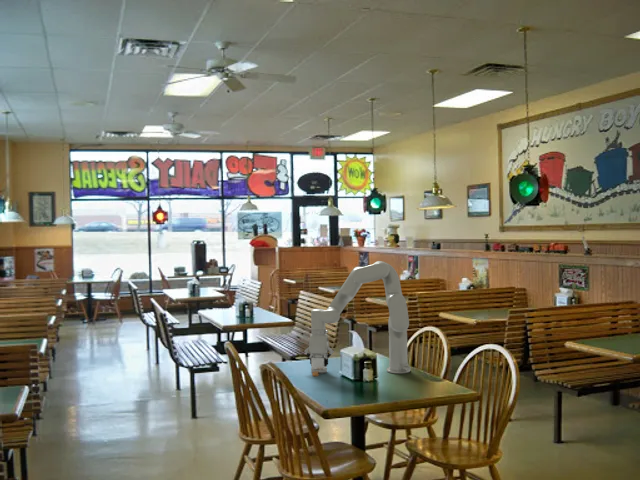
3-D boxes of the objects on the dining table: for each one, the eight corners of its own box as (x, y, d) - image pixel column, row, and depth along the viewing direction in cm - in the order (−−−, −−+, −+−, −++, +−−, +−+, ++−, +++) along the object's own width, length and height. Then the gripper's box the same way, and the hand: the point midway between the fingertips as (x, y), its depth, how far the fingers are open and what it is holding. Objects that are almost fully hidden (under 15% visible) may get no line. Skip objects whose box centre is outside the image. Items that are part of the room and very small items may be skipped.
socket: (324, 369, 328) (323, 356, 328) (311, 369, 330) (311, 355, 330) (326, 366, 335) (326, 353, 335) (314, 366, 337) (314, 353, 336)
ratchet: (322, 376, 323) (322, 365, 323) (307, 375, 325) (307, 365, 325) (328, 370, 336) (328, 360, 336) (313, 370, 338) (313, 359, 338)
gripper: (336, 331, 334) (336, 364, 334) (304, 330, 338) (305, 363, 338) (332, 333, 326) (333, 367, 327) (300, 333, 330) (301, 366, 331)
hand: (319, 365), depth 332 cm, fingers closed on socket, 6 cm apart
